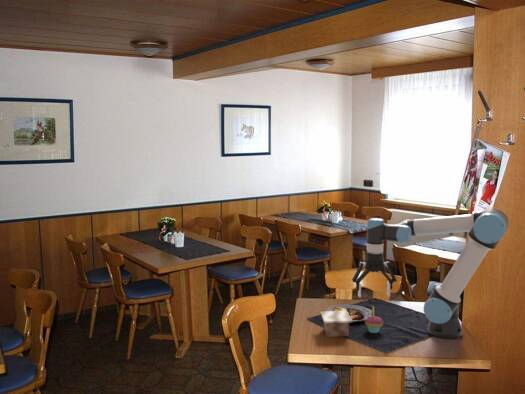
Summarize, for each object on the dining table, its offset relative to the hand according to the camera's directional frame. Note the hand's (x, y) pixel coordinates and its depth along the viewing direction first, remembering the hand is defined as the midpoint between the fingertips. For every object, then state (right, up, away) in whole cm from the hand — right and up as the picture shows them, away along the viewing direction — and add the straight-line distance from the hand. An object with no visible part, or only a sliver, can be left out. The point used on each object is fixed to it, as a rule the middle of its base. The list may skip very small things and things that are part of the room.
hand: (373, 296), depth 243 cm
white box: (-17, -17, +2) cm, 25 cm away
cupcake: (+1, -17, +2) cm, 17 cm away
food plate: (-8, -15, +23) cm, 28 cm away
